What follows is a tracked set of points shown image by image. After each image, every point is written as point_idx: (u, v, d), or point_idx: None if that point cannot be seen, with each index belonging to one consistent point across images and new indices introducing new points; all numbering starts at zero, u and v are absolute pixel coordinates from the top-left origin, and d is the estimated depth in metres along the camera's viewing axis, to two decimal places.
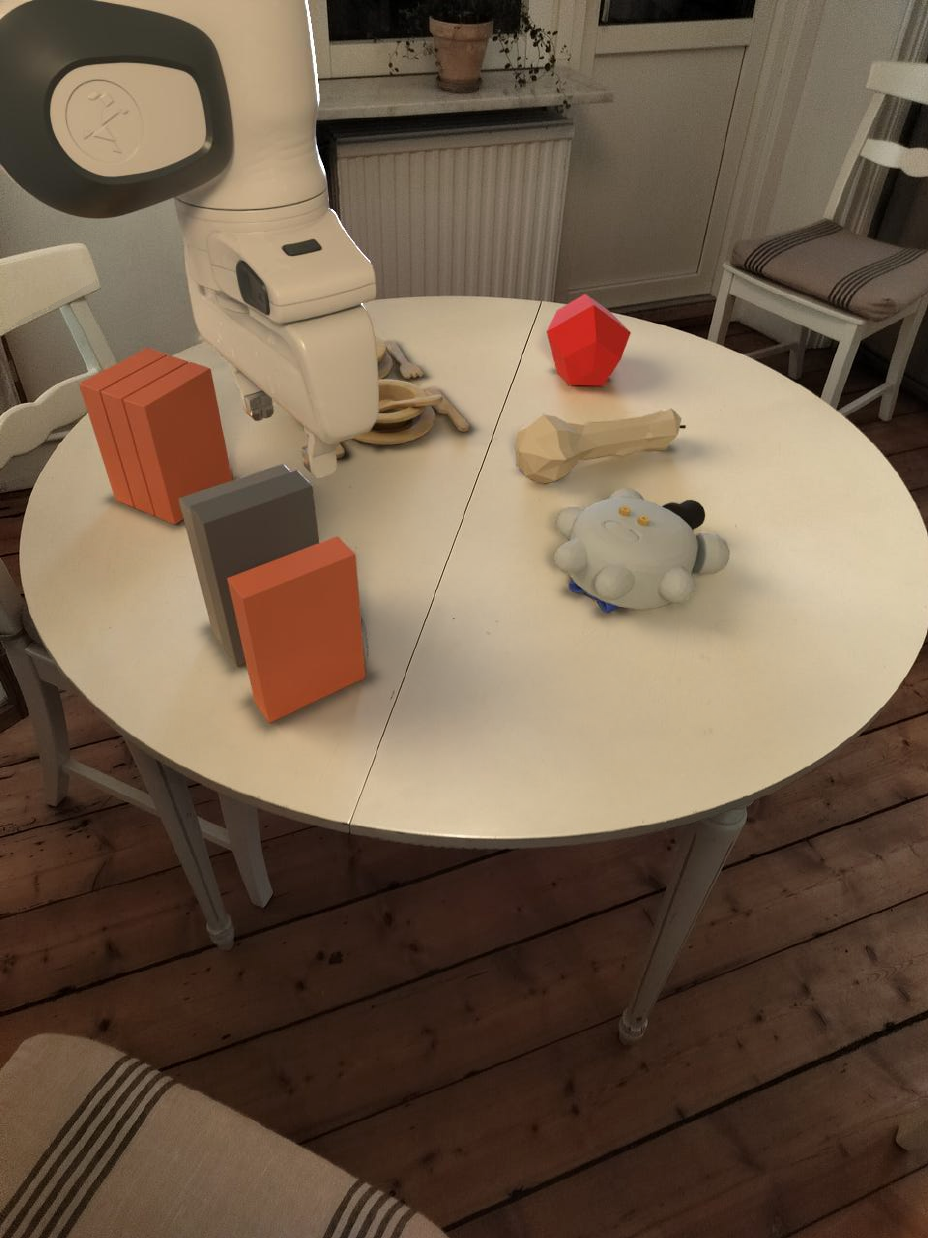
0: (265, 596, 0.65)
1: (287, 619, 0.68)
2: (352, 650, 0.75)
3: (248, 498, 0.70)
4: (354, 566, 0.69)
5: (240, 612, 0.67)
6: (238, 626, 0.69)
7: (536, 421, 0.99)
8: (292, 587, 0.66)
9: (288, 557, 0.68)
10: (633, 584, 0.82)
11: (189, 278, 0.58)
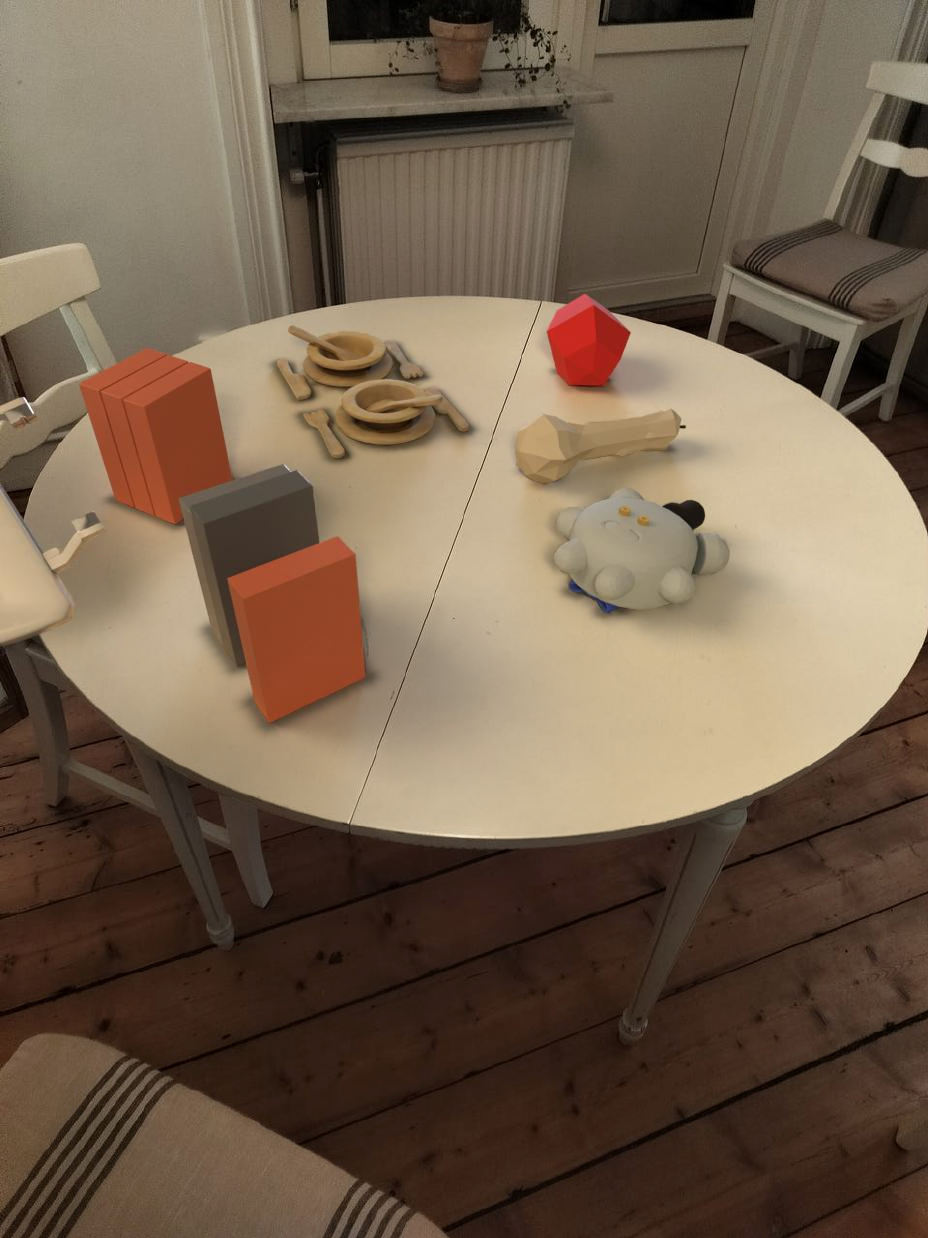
0: (265, 596, 0.65)
1: (287, 619, 0.68)
2: (352, 650, 0.75)
3: (248, 498, 0.70)
4: (354, 566, 0.69)
5: (240, 612, 0.67)
6: (238, 626, 0.69)
7: (536, 421, 0.99)
8: (292, 587, 0.66)
9: (288, 557, 0.68)
10: (633, 584, 0.82)
11: None
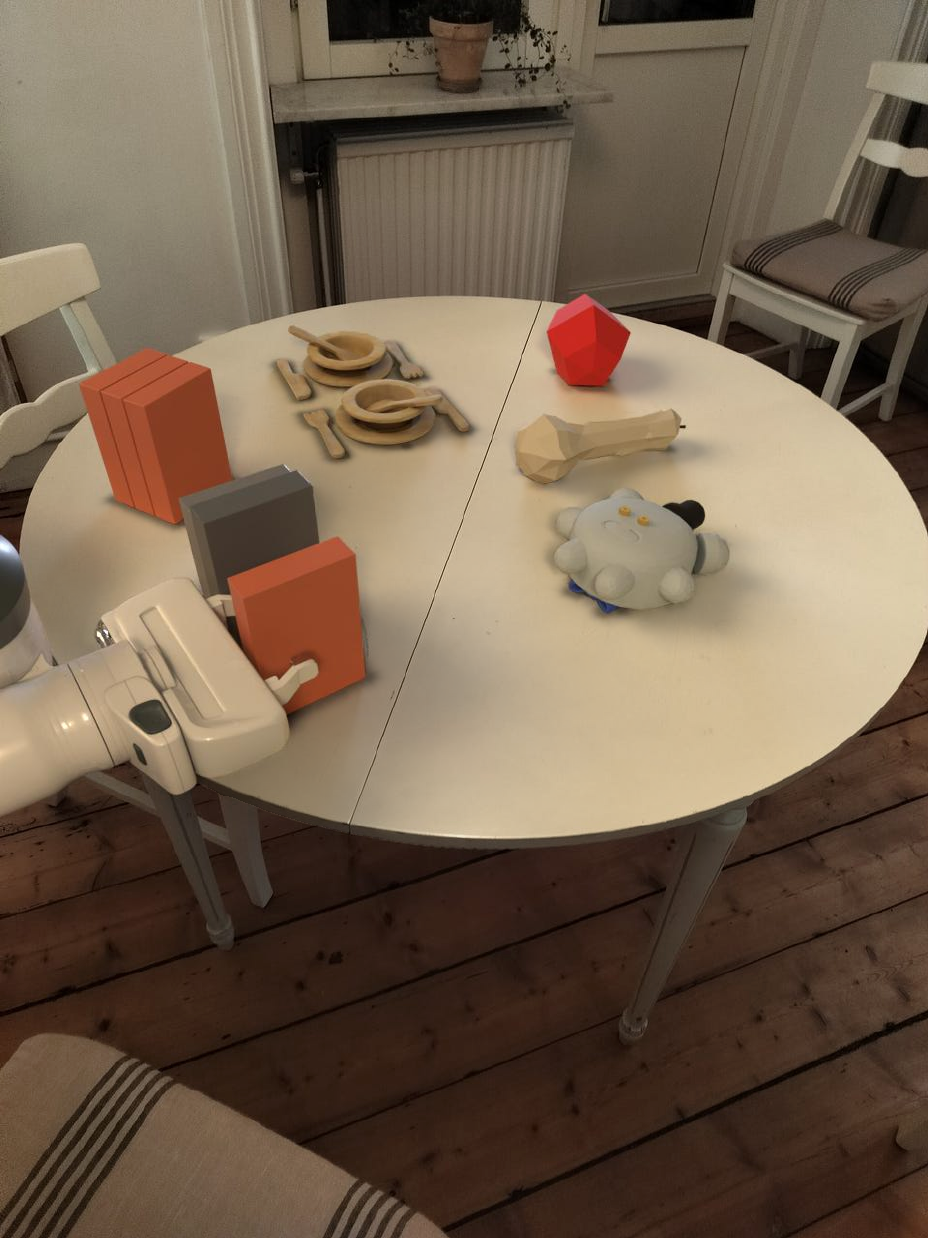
0: (265, 596, 0.65)
1: (287, 619, 0.68)
2: (352, 650, 0.75)
3: (248, 498, 0.70)
4: (354, 566, 0.69)
5: (240, 612, 0.67)
6: (238, 626, 0.69)
7: (536, 421, 0.99)
8: (292, 587, 0.66)
9: (288, 557, 0.68)
10: (633, 584, 0.82)
11: None
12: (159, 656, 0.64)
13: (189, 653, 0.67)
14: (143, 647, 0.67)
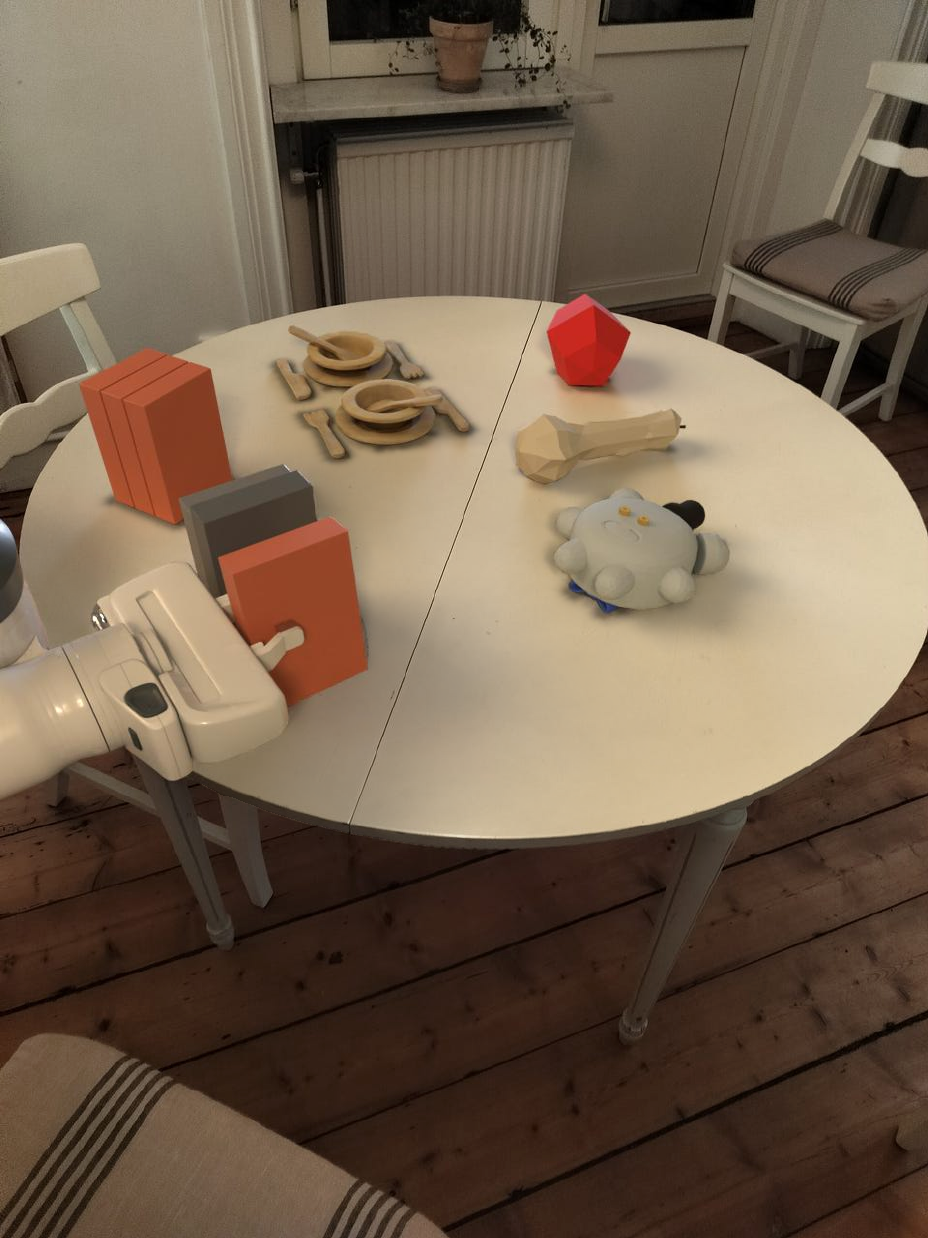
0: (256, 573, 0.64)
1: (281, 600, 0.67)
2: (352, 637, 0.73)
3: (248, 498, 0.70)
4: (347, 544, 0.68)
5: (232, 592, 0.65)
6: (232, 610, 0.68)
7: (536, 421, 0.99)
8: (284, 564, 0.65)
9: (280, 536, 0.67)
10: (633, 584, 0.82)
11: None
12: (155, 639, 0.63)
13: (186, 637, 0.65)
14: (139, 631, 0.65)
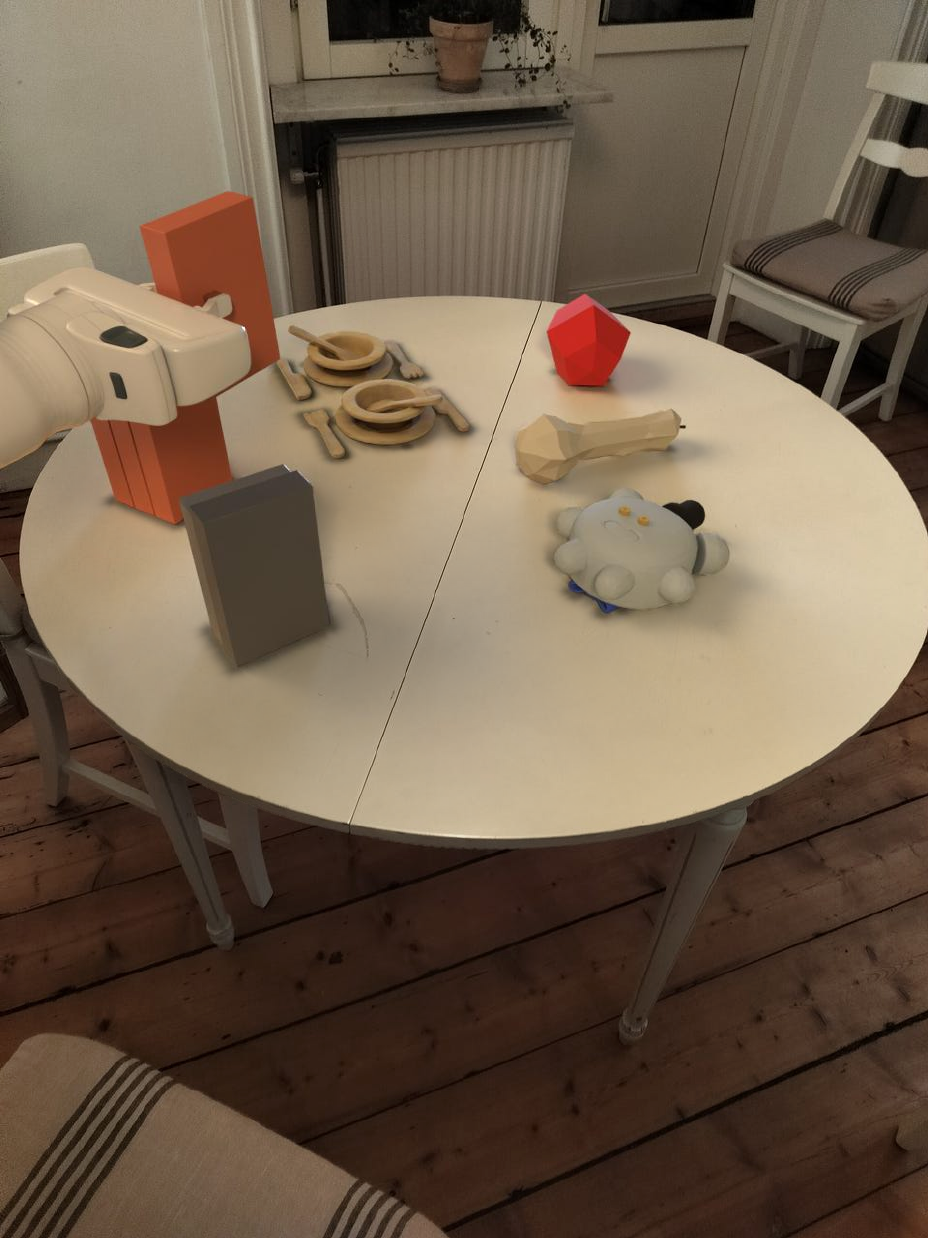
0: (183, 234, 0.67)
1: (206, 269, 0.70)
2: (265, 320, 0.78)
3: (248, 498, 0.70)
4: (253, 212, 0.72)
5: (161, 260, 0.68)
6: (157, 289, 0.70)
7: (536, 421, 0.99)
8: (205, 227, 0.69)
9: (190, 207, 0.70)
10: (633, 584, 0.82)
11: None
12: (101, 304, 0.65)
13: (125, 308, 0.67)
14: None
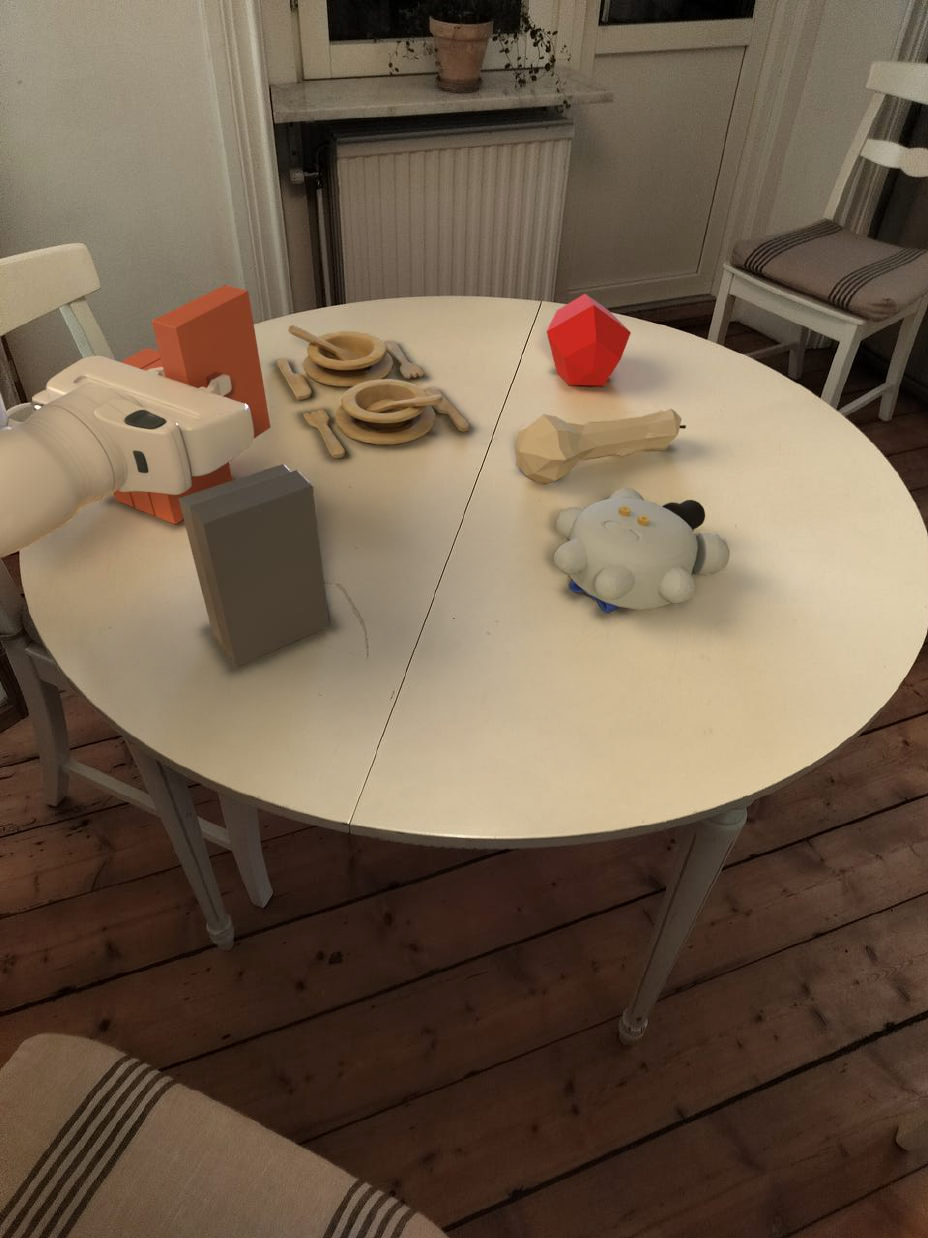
0: (191, 327, 0.76)
1: (209, 355, 0.79)
2: (258, 395, 0.88)
3: (248, 498, 0.70)
4: (249, 303, 0.82)
5: (170, 350, 0.77)
6: (165, 374, 0.79)
7: (536, 421, 0.99)
8: (209, 319, 0.78)
9: (193, 301, 0.79)
10: (633, 584, 0.82)
11: None
12: (120, 390, 0.73)
13: (139, 392, 0.76)
14: None
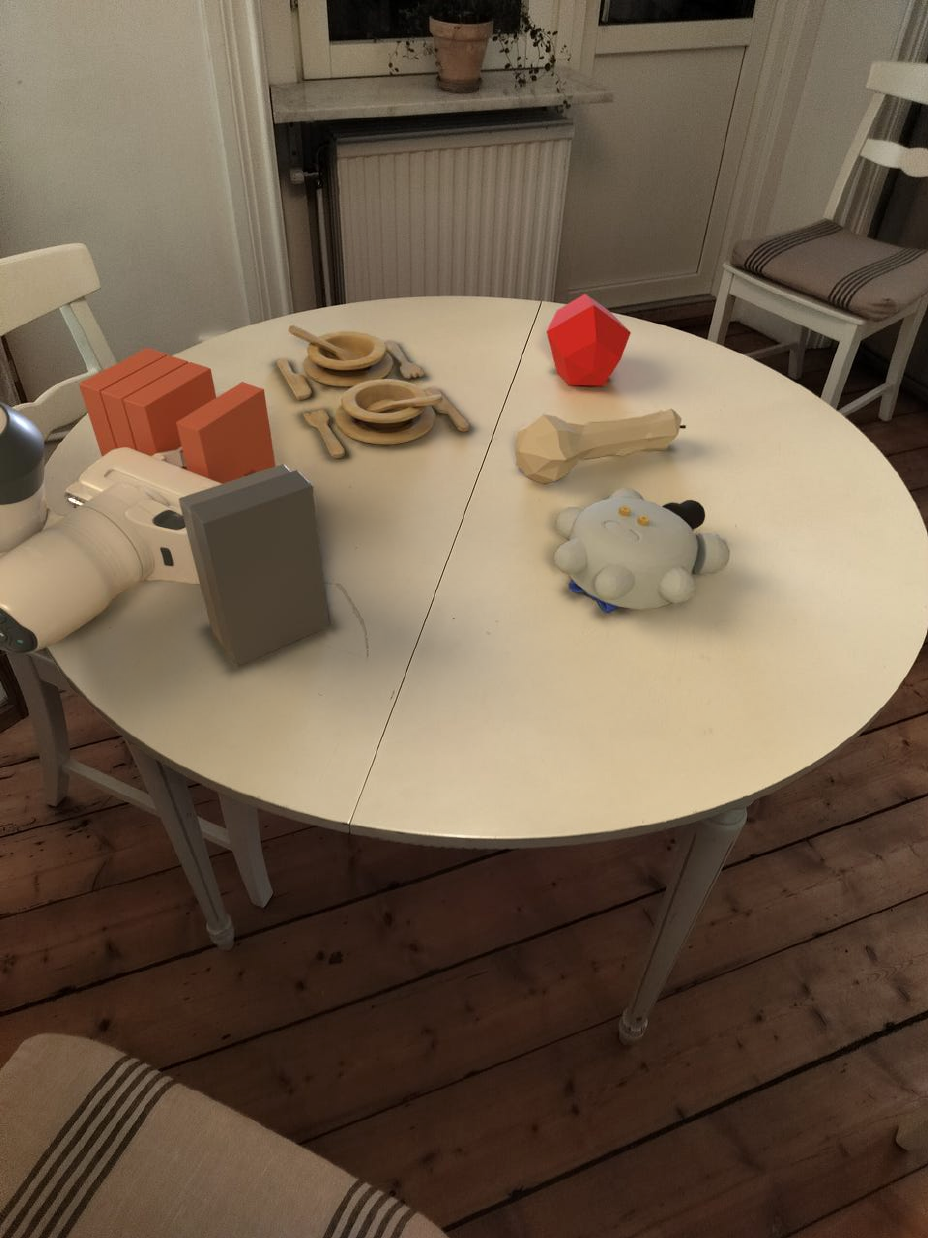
0: (212, 428, 0.83)
1: (227, 449, 0.87)
2: None
3: (248, 498, 0.70)
4: (264, 400, 0.89)
5: (193, 448, 0.84)
6: (187, 466, 0.86)
7: (536, 421, 0.99)
8: (228, 419, 0.85)
9: (214, 401, 0.86)
10: (633, 584, 0.82)
11: None
12: (148, 488, 0.80)
13: (165, 487, 0.83)
14: None
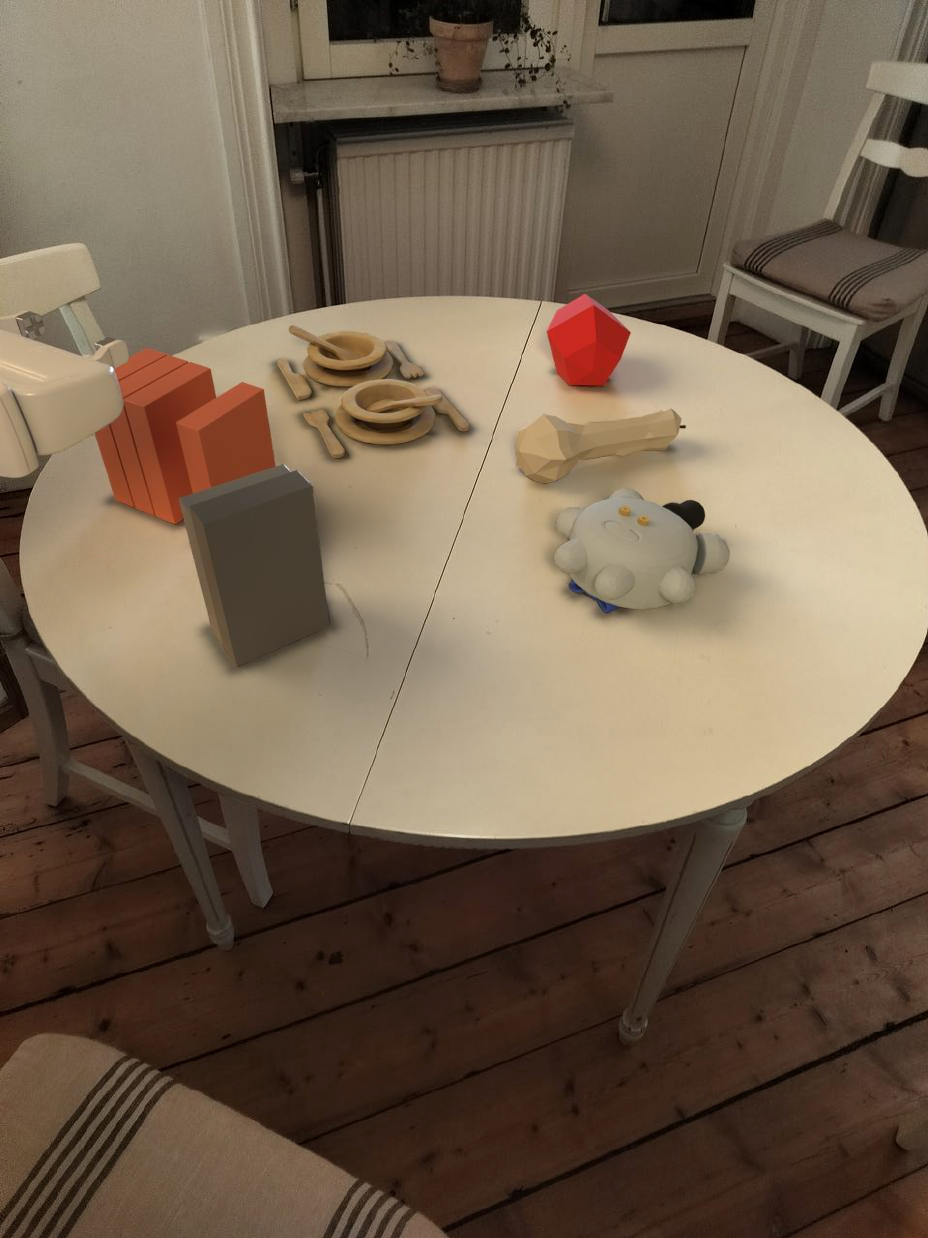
0: (212, 428, 0.83)
1: (227, 449, 0.87)
2: None
3: (248, 498, 0.70)
4: (264, 400, 0.89)
5: (193, 448, 0.84)
6: (187, 466, 0.86)
7: (536, 421, 0.99)
8: (228, 419, 0.85)
9: (214, 401, 0.86)
10: (633, 584, 0.82)
11: None
12: None
13: None
14: None
